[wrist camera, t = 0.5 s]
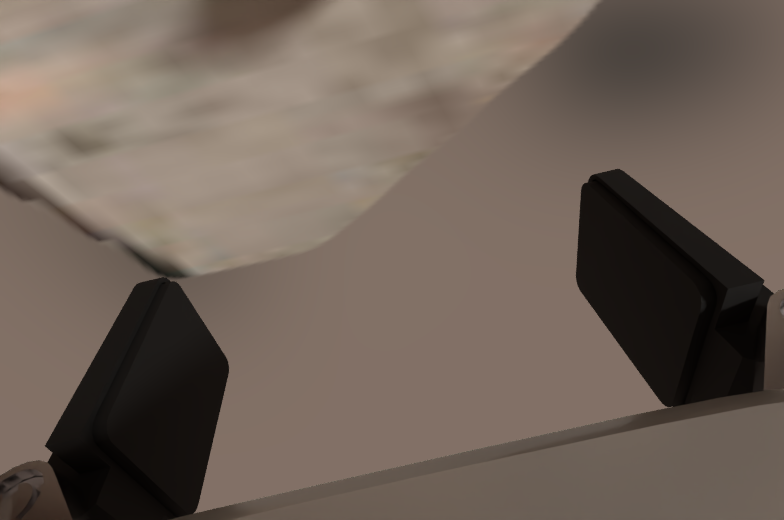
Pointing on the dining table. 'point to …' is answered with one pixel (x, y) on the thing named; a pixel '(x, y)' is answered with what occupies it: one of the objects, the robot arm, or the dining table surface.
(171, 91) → the dining table surface
